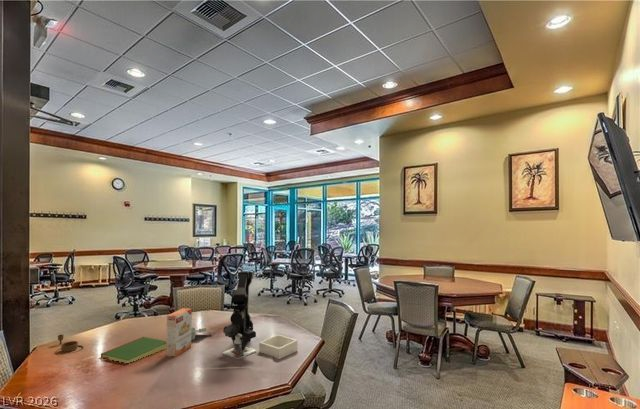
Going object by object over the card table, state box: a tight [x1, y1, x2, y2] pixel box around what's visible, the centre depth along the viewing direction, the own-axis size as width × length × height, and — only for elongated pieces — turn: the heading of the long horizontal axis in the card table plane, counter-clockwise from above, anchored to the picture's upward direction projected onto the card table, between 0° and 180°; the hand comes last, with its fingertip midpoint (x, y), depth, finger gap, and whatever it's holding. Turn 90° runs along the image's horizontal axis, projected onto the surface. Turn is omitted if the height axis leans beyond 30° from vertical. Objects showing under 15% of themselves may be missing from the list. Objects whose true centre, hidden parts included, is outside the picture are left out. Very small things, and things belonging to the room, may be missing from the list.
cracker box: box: [165, 307, 193, 358], centre depth 177 cm, size 14×6×21 cm, turn 169°
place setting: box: [54, 334, 84, 355], centre depth 181 cm, size 18×20×6 cm
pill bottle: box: [233, 334, 246, 355], centre depth 174 cm, size 5×5×10 cm
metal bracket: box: [191, 327, 214, 340], centre depth 201 cm, size 14×6×15 cm
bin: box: [258, 334, 298, 360], centre depth 177 cm, size 14×14×6 cm
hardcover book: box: [100, 336, 166, 364], centre depth 175 cm, size 25×19×4 cm
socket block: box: [221, 346, 257, 360], centre depth 174 cm, size 12×12×2 cm
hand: (239, 348), depth 174 cm, fingers closed on pill bottle, 5 cm apart
